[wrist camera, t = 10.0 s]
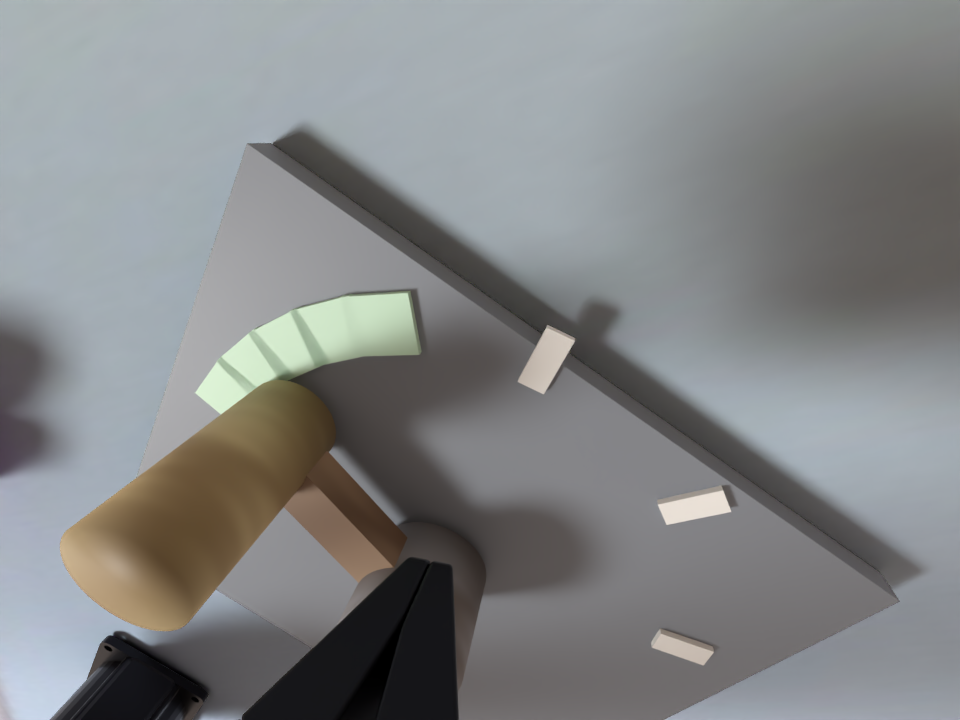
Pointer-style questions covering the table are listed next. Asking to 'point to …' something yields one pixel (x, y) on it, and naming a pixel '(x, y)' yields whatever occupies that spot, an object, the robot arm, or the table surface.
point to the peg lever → (251, 518)
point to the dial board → (496, 471)
